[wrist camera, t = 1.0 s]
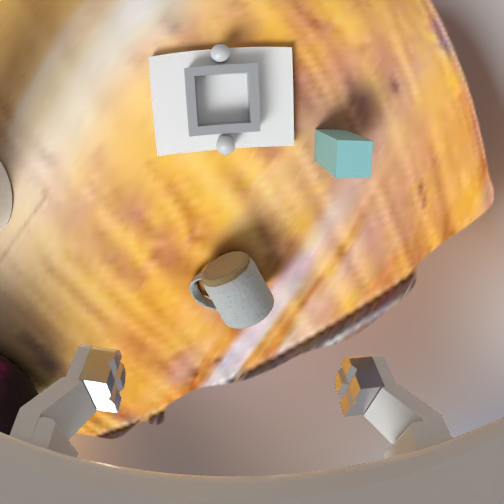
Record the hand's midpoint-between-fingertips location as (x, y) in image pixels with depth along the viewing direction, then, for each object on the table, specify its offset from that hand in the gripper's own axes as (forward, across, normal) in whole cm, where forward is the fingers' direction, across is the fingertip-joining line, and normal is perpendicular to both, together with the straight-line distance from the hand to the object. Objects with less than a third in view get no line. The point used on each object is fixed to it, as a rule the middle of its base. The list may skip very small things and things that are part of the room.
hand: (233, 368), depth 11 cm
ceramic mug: (+31, +1, -17) cm, 35 cm away
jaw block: (+31, +12, +3) cm, 33 cm away
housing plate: (+30, -1, +8) cm, 31 cm away
